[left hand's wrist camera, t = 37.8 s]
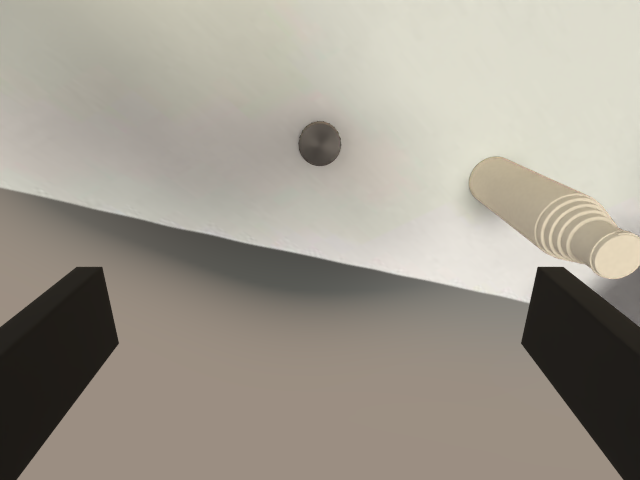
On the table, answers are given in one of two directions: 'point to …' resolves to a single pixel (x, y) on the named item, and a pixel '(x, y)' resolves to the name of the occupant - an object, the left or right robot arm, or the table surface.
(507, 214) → the bottle
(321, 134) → the cap
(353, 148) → the table surface
